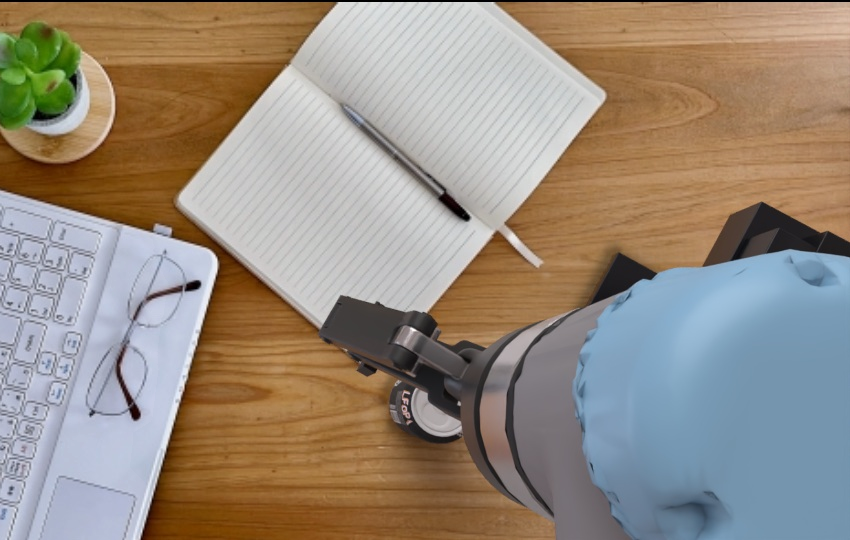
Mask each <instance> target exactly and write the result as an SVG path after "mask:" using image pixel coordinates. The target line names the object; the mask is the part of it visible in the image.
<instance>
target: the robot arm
mask: <svg viewBox="0 0 850 540" xmlns="http://www.w3.org/2000/svg"><path fill="white" fill-rule="evenodd" d="M657 273H658V274H657V275H656V276H655V277H654V278H653V279H652V280H646V279H642V280H640V281H639V282H637V283H635V284H634V285H633V286H632V287H630V288H629V289H628V290H626V291H624V292H621V293H619V294H617V295H614V296H612V297H609V298H607V299H604V300H602V301H599V302H597V303H595V304H592V305H590V306H587V307H585V306H584V307H578V308H574V309H572V310H569V311H566V312H564V313H561V314H558V315H555V316H552V317H549V318H547V319H543V320H539V321H536V322H534V323H531V324H528V325H525V326H523V327H519V328H516V329H515V330H513V331H510V332H508V333H506V334H504V335H503V336H501V337H499V339H497V340H496V341H494V342H493V343H492V344H490V345H488V347H485V346H483V345H480V344H477V343H475V342H472V341H469V340H466V339H463V340H460V341H458V342H456V343H455V344H453V345H452V344H448V343H446V342H443V341H441V340H438V339H439V337H440V336H441V334H442V329H440V328H439V327H438V325H439V322H437V321H436V319H435V318H434V316H432V315H431V314H429V313H427V312H425V311H422V312H421V311H419V310H415V309H414V310H413V309H412V310H409V311H403V310H399V309H396V308H392V307H388V306H385V305H384V304H383V303H381V302H380V301H379V300H376V301H375V302H374V303H373V302H370V301H366V300H362V299H359V298H354V297H352V296H349V295H347V296H346V295H343V294H340V295H339V296H338V298H337V300H336V302H335V303H334V305H333V306H332V308H331V309H330V312H329V313H328V315H327V317H326V318H325V320H324V322H323V324H322V326H321V327H320V328H319V331H318V332H317V335H318V337H319V338H320V339H321V341H322V342H324V343H325V344H327V345H329V346H330V345H334V346H336V347H339V348H341V349H344V350H346V353H347V354H348V356H350V359H352V360H353V361H355V362H356V363H360V364H359V366H358V367H357V368H356V370H355V371H356V372H358V373H359V374H360V375H363V376H364V377H366V378H368V377H370V376H372V375H375V374H376V373H377V371H380V372H382V373H384V374H386V375H388V376H390V377H392V378H394V379H396V380H401V381H403V382H405V383H407V384H409V385H411V386H413V387H415V388H417V389H419V390H421V391H424V392H426V393H428V401H429V402H430V403H431V404H432V405H433V406H435V407H436V408H438V409H439V410H441V411H442V412H444V413H445V414H447V415H449V416H451V417H453V418H455V419H457V420H459V421H461V425H462V432H463V440H464V444H465V447H466V449H467V452H468V454H469V456H470V458H471V460H472V461H473V463H474V465H475V466H476V468H477V471H479V473H480V474H481V475H482V476H483V478H484V480H486V481H487V482H488V483H489V484H490V485H491V486H492V487H493V488H494V489H495V490H496V491H498V492H499V493H500V494H501V495H503V496H504V497H505V498H507V499H509V500H510V501H512V502H514V503H516V504H517V505H519V506H521V507H524V508H526V509H528V510H529V511H532V512H533V513H534V514H537V515H539V516H540V517H543V518H544V519H546V520H548V521H550V522H552V523H554V534H555V540H850V258H849V257H845V256H839V255H831V254H823V253H814V252H804V251H797V250H792V249H789V250H784V251H780V252H775V253H769V254H763V255H758V256H753V257H749V258H744V259H739V260H735V261H730V262H726V263H721V264H716V265H712V266H707V267H702V266H701V267H700V266H694V267H693V266H689V267H688V266H683V267H682V266H681V267H679V266H677V267H674V268H668V269H666V270H663V271H659V272H657ZM458 401H459V402H461V406H459V405H457V404H458Z"/></svg>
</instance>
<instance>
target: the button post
mask: <svg viewBox="0 0 850 540" xmlns="http://www.w3.org/2000/svg"><path fill="white" fill-rule="evenodd" d="M789 249H792V250H797V251H804V252H814V253H823V254H831V255H839V256H845V257H849V258H850V241H849V240H847V239H844V238H843V237H841V236H839V235H837V234H835V233H833V232H832V231H830V230H825V231H822V232H820V231H819V230H816V229H814V228H813V227H811V226H809V225H808V224H805V223H804V222H801V221H799V220H798V219H796V218H794V217H792V216H790V215H788V214H786V213H785V212H783V211H781V210H779V209H777V208H775V207H773V206H771V205H769V204H768V203H766V202H764V201H763V200H762V201H759V202H757V203H754V204H752V205H749V206H748V207H745V208H743V209H740V210H738V211H736V212H733V213H731V214H730V215H728V218H727V219H726V221H725V223H724V225H723V227H722V229H721V230H720V232H719V234H718V236H717V238H716V240H715V241H714V244H713V246H712V247H711V249H710V250H709V253H708V255H707V256H706V258H705V260H704V261H703V264H702V266H701V267H707V266H712V265H716V264H721V263H726V262H730V261H735V260H739V259H744V258H749V257H753V256H758V255H763V254H769V253H775V252H780V251H784V250H789ZM658 273H659V272H656V271H654V270H652V269H650V267H649V268H648V267H647V266H644V265H643V264H641V263H640V262H637V261H636V260H634V259H633V258H630V257H629V256H627V255H625V254H623V253H621V252H619V251H618V252H615V253H614V254H613V255H612V256H611V258H610V260H609V262H608V264H607V266H606V268H605V269H604V271H603V273H602V275H601V277H600V278H599V280H598V282H597V284H596V285H595V287H594V289H593V291H592V292H591V294H590V296H589V298H588V299H587V302H586V304H585V305H584V307H587V306H590V305H592V304H595V303H597V302H599V301H602V300H604V299H607V298H609V297H612V296H614V295H617V294H619V293H621V292H624V291H626V290H628V289H629V288H630V287H632V286H633V285H634V284H635V283H637V282H639V281H640V280H642V279H646V280H652V279H653V278H654V277H655V276H656V275H657V274H658Z"/></svg>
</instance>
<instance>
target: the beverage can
mask: <svg viewBox="0 0 850 540" xmlns="http://www.w3.org/2000/svg"><path fill="white" fill-rule="evenodd" d="M457 405H459V406H461V402H459V401H458V404H457ZM388 408H389V412H390V415H391V418H392V420H393V422H394V423H395V424H396V426H397V427H398V428H399V429H400V430H401V431H402V432H404V433H406V434H407V435H409V436H411V437H415V438H417V439H420V440H422V441H424V442H427V443H429V444H434V445H435V444H436V445H440V444H441V445H445V444H450V443H454V442H456V441H458V440H460V439H462V438H464V436H463V432H462V425H461V421H459V420H457V419H455V418H453V417H451V416H449V415H447V414H445V413H444V412H442V411H441V410H439V409H438V408H436V407H435V406H433V405H432V404H431V403H430V402H429V401H428V393H426V392H424V391H421V390H419V389H417V388H415V387H413V386H411V385H409V384H407V383H405V382H403V381H401V380H399V379H397V380H396V382H395V383H394V385H393V387H392V389H391V390H390V394H389V399H388Z"/></svg>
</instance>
